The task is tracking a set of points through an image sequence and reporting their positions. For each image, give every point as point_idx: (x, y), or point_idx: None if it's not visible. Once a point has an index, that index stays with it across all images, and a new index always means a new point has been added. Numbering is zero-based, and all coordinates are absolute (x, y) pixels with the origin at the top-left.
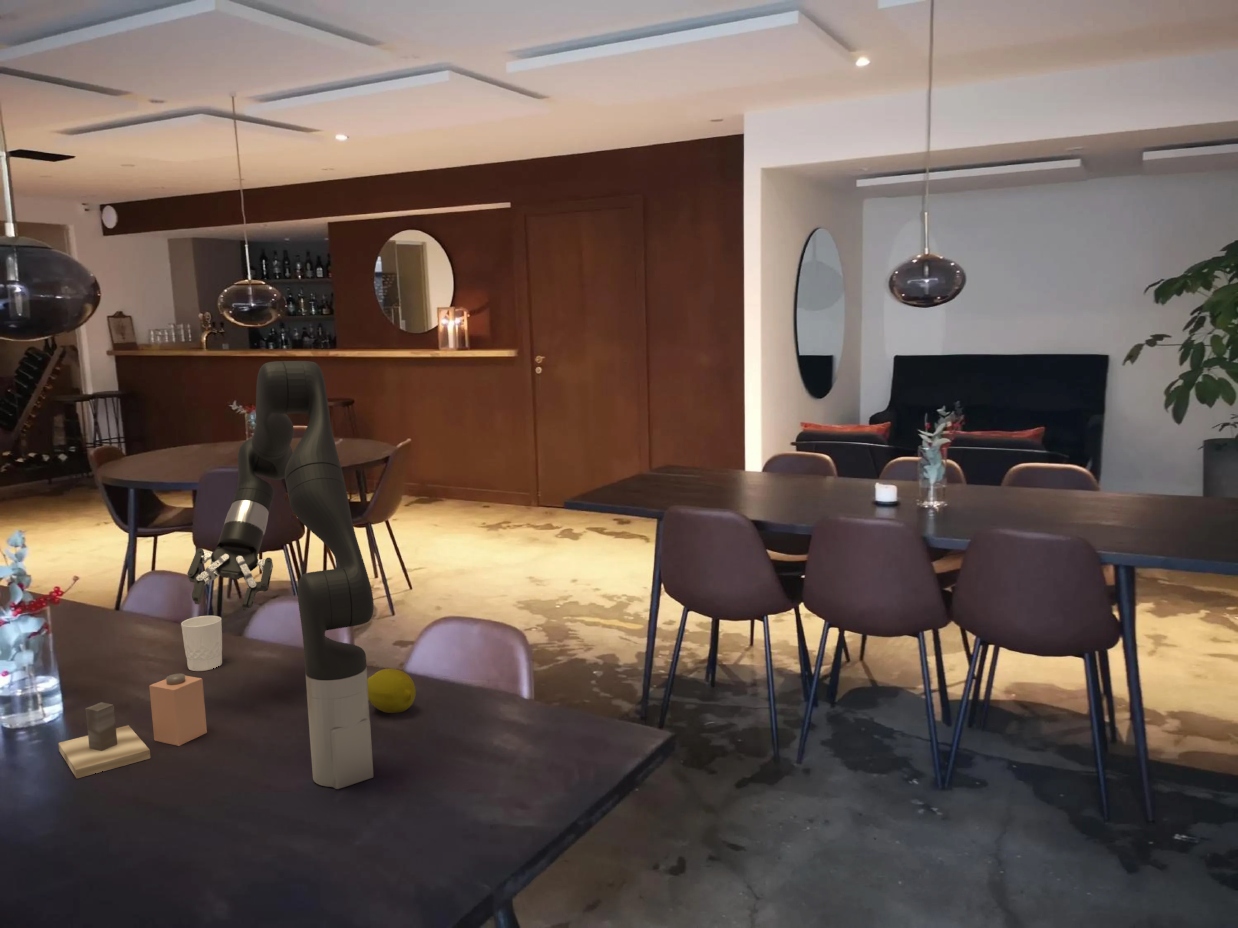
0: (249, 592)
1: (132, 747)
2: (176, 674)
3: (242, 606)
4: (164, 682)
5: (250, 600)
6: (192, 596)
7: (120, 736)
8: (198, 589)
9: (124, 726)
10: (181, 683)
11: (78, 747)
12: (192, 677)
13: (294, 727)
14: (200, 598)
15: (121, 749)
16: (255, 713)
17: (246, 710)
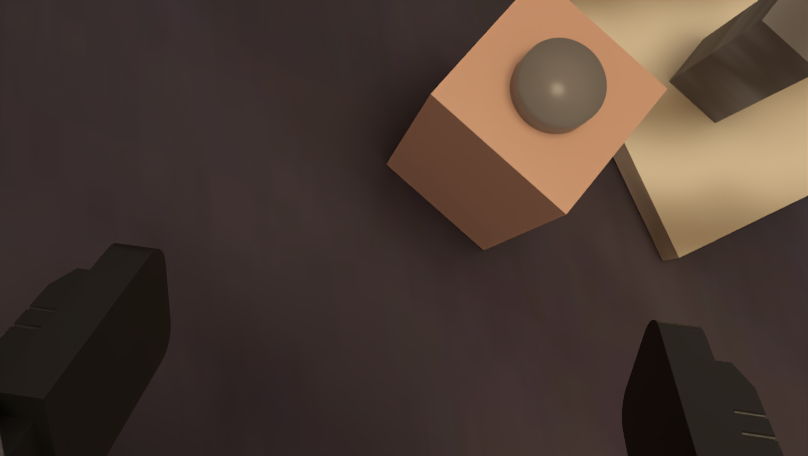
0: (33, 346)
1: (611, 31)
2: (565, 114)
3: (161, 256)
4: (606, 106)
5: (55, 302)
6: (731, 369)
7: (677, 150)
8: (711, 403)
9: (689, 249)
10: (521, 58)
11: (784, 102)
12: (483, 132)
13: (44, 93)
14: (638, 429)
15: (643, 27)
16: (212, 310)
17: (253, 360)
